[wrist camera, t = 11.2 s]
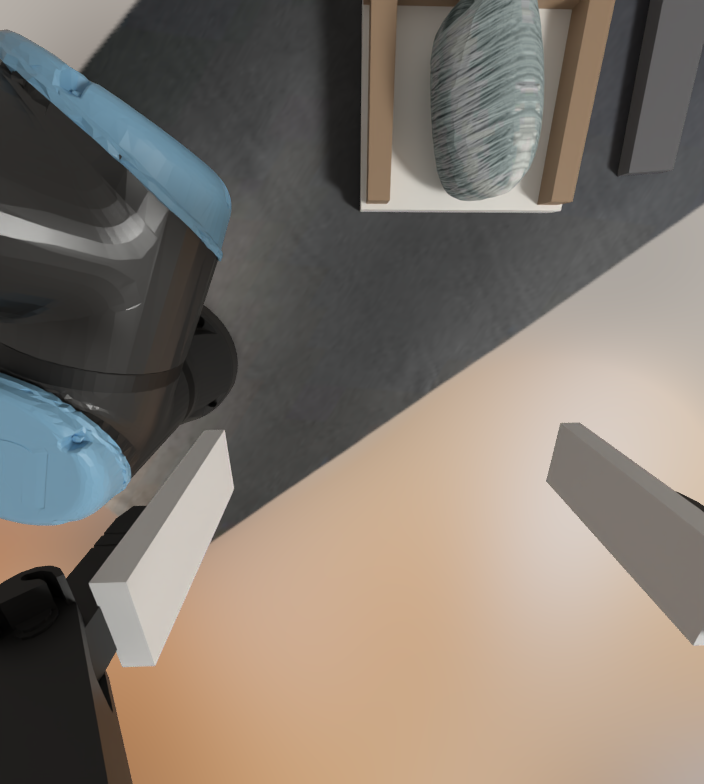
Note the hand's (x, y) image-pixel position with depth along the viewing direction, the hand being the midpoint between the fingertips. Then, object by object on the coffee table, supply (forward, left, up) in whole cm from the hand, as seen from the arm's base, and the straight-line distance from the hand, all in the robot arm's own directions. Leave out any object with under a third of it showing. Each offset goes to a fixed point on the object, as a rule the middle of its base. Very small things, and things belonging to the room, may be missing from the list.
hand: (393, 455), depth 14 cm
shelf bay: (+10, +19, -29) cm, 36 cm away
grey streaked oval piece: (+10, +18, -27) cm, 34 cm away
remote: (+28, +22, -29) cm, 46 cm away
